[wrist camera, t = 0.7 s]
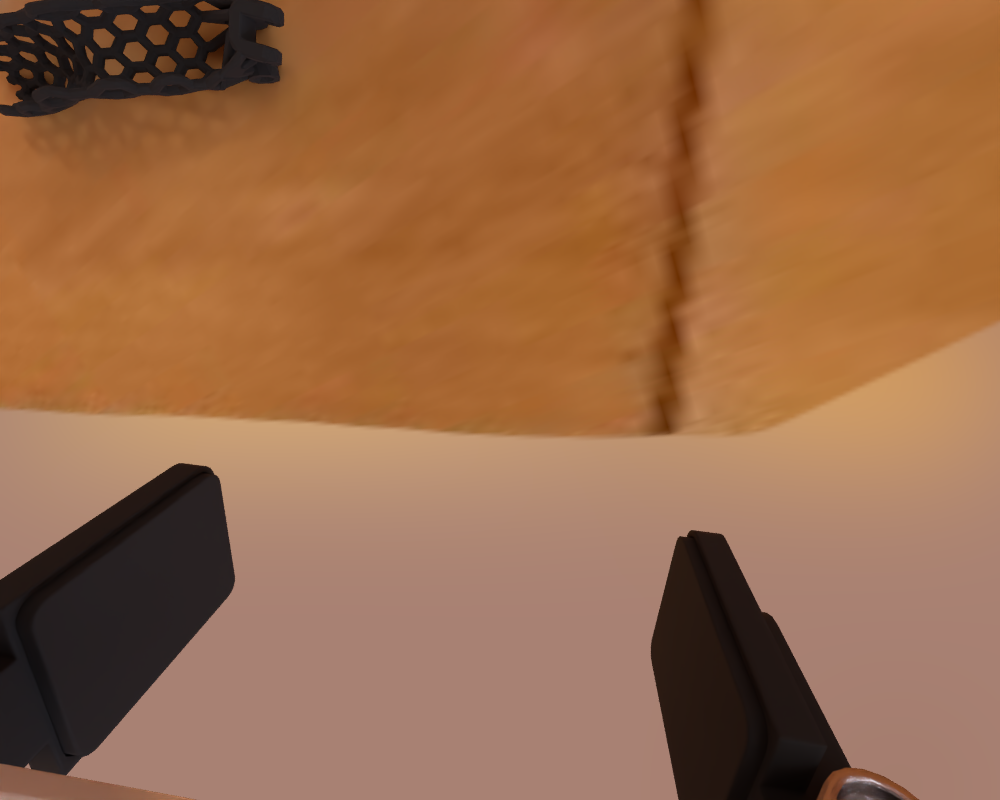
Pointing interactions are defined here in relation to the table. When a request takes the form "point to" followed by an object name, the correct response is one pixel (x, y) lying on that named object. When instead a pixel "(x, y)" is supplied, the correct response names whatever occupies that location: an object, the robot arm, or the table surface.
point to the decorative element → (67, 3)
